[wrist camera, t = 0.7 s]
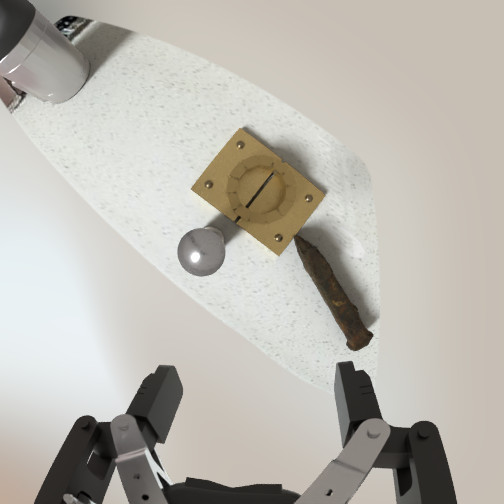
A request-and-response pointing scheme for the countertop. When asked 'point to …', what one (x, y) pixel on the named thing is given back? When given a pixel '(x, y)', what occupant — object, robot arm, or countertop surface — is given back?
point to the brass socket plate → (248, 183)
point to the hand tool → (333, 295)
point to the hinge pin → (202, 251)
